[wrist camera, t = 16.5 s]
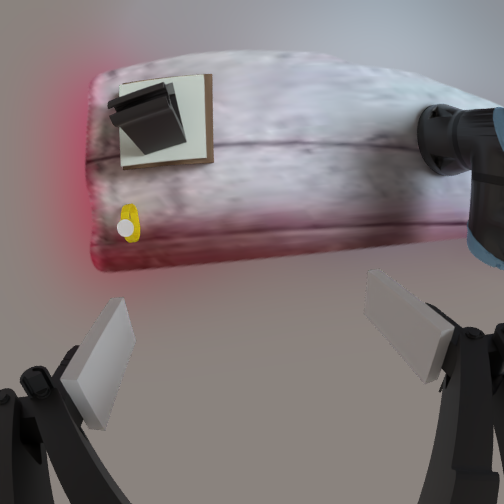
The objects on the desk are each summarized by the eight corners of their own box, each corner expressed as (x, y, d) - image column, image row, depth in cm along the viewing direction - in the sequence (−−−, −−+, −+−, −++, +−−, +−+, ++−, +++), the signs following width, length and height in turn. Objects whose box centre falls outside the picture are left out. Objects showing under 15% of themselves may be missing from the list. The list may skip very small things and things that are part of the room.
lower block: (212, 80, 41) (212, 73, 38) (213, 162, 46) (213, 162, 42) (129, 89, 40) (122, 83, 36) (130, 169, 44) (123, 170, 40)
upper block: (204, 81, 38) (203, 74, 34) (206, 158, 42) (205, 157, 38) (127, 91, 37) (119, 85, 33) (128, 165, 40) (120, 166, 36)
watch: (146, 234, 47) (138, 246, 42) (131, 236, 47) (121, 249, 42) (139, 200, 45) (130, 208, 40) (124, 202, 45) (113, 211, 39)
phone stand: (132, 96, 34) (101, 73, 22) (173, 82, 34) (157, 53, 23) (145, 155, 37) (117, 153, 25) (187, 142, 37) (174, 134, 25)
